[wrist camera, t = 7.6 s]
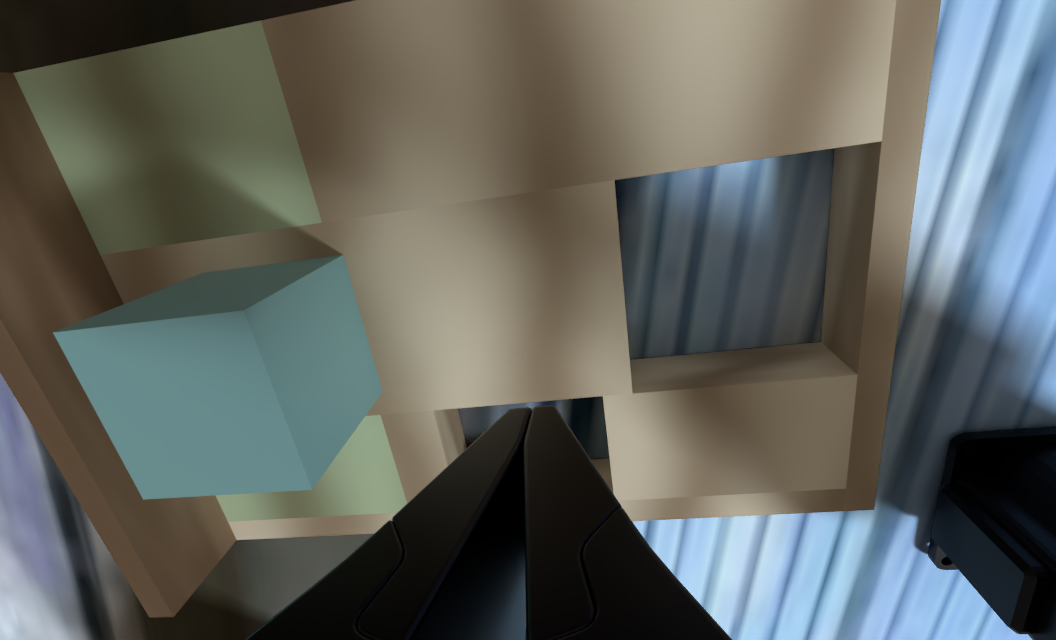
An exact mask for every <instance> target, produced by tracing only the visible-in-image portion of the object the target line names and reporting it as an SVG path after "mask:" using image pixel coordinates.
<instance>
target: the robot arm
mask: <svg viewBox="0 0 1056 640" xmlns="http://www.w3.org/2000/svg"><path fill="white" fill-rule="evenodd" d="M969 445H970V446H969ZM967 446H969V447H968V448H966V447H967ZM965 448H966V449H965ZM928 557H929V558H930V559H931V560H932V562H933V563H934V564H935V565H936V567H937V568H939V569H943V570H956V569H959V570H960V572H961V573H962V574H963V575H964V576H965V577H966V579H967V580H968V581H969V582H970V583H971V584H972V586H973V587H974V588H975V589H976V590H977V591H978V593H979V594H980V595H981V596H982V597H983V598H984V600H985V601H986V602H987V603H988V604H989V605H990V607H991V608H992V609H993V610H994V611H995V612H996V614H997V615H998V616H999V617H1000V618H1001V619H1002V621H1003V622H1004V623H1005V624H1006V625H1007V626H1008V627H1009V628H1010V629H1012V630H1013V631H1014V632H1016V633H1018V634H1028V635H1029V636H1030V637H1031V638H1032V639H1033V640H1056V427H1045V428H1030V429H1015V430H1000V431H985V432H970V433H962V434H959V435H957V436H955V437H954V438H953V439H952V440H951V441H950V443H949V446H948V452H947V457H946V462H945V467H944V473H943V478H942V483H941V488H940V491H939V496H938V501H937V506H936V512H935V517H934V522H933V528H932V533H931V541H930V546H929V552H928ZM525 628H526V640H732V639H731V638H730V637H729V636H728V635H727V634H726V632H725V631H724V630H723V629H722V628H721V627H720V626H719V625H718V624H717V622H716V621H715V620H714V619H713V618H712V617H711V616H710V615H709V614H708V612H707V611H706V610H705V609H704V608H703V607H702V606H701V605H700V604H699V602H698V601H697V600H696V599H695V598H694V597H693V596H692V595H691V594H690V592H689V591H688V590H687V589H686V588H685V587H684V586H683V585H682V584H681V583H680V581H679V580H678V579H677V578H676V577H675V576H674V575H673V574H672V572H671V571H670V570H669V569H668V568H667V566H666V565H665V564H664V563H663V562H662V561H661V559H660V558H659V557H658V556H657V555H656V553H655V552H654V551H653V550H652V549H651V547H650V546H649V545H648V543H647V542H646V541H645V539H644V538H643V536H642V535H641V534H640V532H639V531H638V529H637V528H636V527H635V525H634V524H633V522H632V521H631V519H630V518H629V516H628V515H627V513H626V512H625V510H624V509H623V508H622V507H621V505H620V503H619V502H618V500H617V499H616V497H615V496H614V494H613V493H612V491H611V490H610V488H609V486H608V485H607V483H606V482H605V480H604V479H603V477H602V476H601V474H600V473H599V471H598V470H597V468H596V467H595V465H594V464H593V462H592V461H591V459H590V458H589V456H588V455H587V453H586V452H585V450H584V449H583V447H582V446H581V444H580V443H579V441H578V440H577V438H576V437H575V435H574V433H573V432H572V430H571V429H570V427H569V426H568V424H567V423H566V421H565V420H564V418H563V417H562V415H561V414H560V412H559V411H558V409H557V408H556V407H555V406H553V405H550V406H538V407H534V408H533V409H531V408H528V407H526V408H514V409H510V410H508V411H507V412H506V413H505V414H504V415H503V416H501V417H500V418H499V419H498V420H497V421H496V422H495V423H494V424H493V425H492V426H491V427H490V428H488V429H487V430H486V431H485V432H484V433H483V434H482V435H481V436H480V437H479V438H478V439H477V440H475V441H474V442H473V443H472V444H471V445H470V446H469V447H468V448H467V449H466V450H465V451H464V452H462V453H461V454H460V455H459V456H458V457H457V458H456V459H455V460H454V461H453V462H452V463H451V464H450V465H448V466H447V467H446V468H445V469H444V470H443V471H442V472H441V473H440V474H439V475H438V476H437V477H435V478H434V479H433V480H432V481H431V482H430V483H429V484H428V485H427V486H426V487H425V488H424V489H422V490H421V491H420V492H419V493H418V494H417V495H416V496H415V497H414V498H413V499H412V500H411V501H409V502H408V503H407V504H406V505H405V506H404V507H403V508H402V509H401V510H400V511H399V512H397V513H396V514H395V515H394V516H393V517H392V521H391V520H389V521H388V522H386V523H385V524H384V525H383V526H382V527H381V528H380V529H379V530H378V531H377V532H376V533H375V534H373V535H372V536H371V537H370V538H369V539H368V540H367V541H366V542H364V543H363V544H362V545H361V546H360V547H359V548H358V549H356V550H355V551H354V552H353V553H352V554H351V555H350V556H349V557H347V558H346V559H345V560H344V561H343V562H341V563H340V564H339V565H338V566H337V567H335V568H334V569H333V570H332V571H330V572H329V573H328V574H327V575H326V576H324V577H323V578H322V579H321V580H319V581H318V582H317V583H316V584H315V585H313V586H312V587H311V588H310V589H308V590H307V591H306V592H304V593H303V594H302V595H301V596H299V597H298V598H297V599H296V600H294V601H293V602H292V603H290V604H289V605H288V606H287V607H285V608H284V609H283V610H282V611H280V612H279V613H278V614H276V615H275V616H274V617H273V618H271V619H270V620H269V621H268V622H266V623H265V624H264V625H262V626H261V627H260V628H259V629H257V630H256V631H255V632H254V633H252V634H251V635H250V636H249V637H247V638H246V639H245V640H524V635H525Z"/></svg>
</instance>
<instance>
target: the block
mask: <svg viewBox="0 0 1056 640" xmlns="http://www.w3.org/2000/svg"><path fill="white" fill-rule="evenodd" d="M53 334H54V336H55V337H56V339H57V341H58V343H59V345H60V347H61V349H62V350H63V352H64V354H65V356H66V358H67V360H68V361H69V363H70V365H71V367H72V369H73V371H74V373H75V374H76V376H77V378H78V380H79V382H80V384H81V385H82V387H83V389H84V391H85V393H86V395H87V397H88V398H89V400H90V402H91V404H92V406H93V408H94V410H95V411H96V413H97V415H98V417H99V419H100V421H101V422H102V424H103V426H104V428H105V430H106V432H107V434H108V435H109V437H110V439H111V441H112V443H113V445H114V446H115V448H116V450H117V452H118V454H119V456H120V458H121V459H122V461H123V463H124V465H125V467H126V469H127V470H128V472H129V474H130V476H131V478H132V480H133V482H134V483H135V485H136V487H137V489H138V491H139V493H140V494H141V496H142V498H143V500H144V499H162V498H179V497H196V496H213V495H231V494H248V493H265V492H283V491H300V490H312V489H313V488H314V487H315V485H316V484H317V482H318V481H319V480H320V478H321V477H322V475H323V474H324V473H325V471H326V470H327V469H328V467H329V466H330V464H331V463H332V462H333V460H334V459H335V457H336V456H337V455H338V453H339V452H340V451H341V449H342V448H343V446H344V445H345V444H346V442H347V441H348V439H349V438H350V437H351V435H352V434H353V432H354V431H355V430H356V428H357V427H358V426H359V424H360V423H361V421H362V420H363V419H364V417H365V416H366V414H367V413H368V412H369V410H370V409H371V408H372V406H373V405H374V403H375V402H376V401H377V399H378V398H379V396H380V395H381V394H382V392H383V390H382V387H381V383H380V380H379V376H378V373H377V370H376V366H375V363H374V359H373V356H372V352H371V349H370V345H369V342H368V339H367V335H366V332H365V328H364V325H363V321H362V318H361V314H360V311H359V307H358V304H357V301H356V297H355V294H354V290H353V287H352V283H351V280H350V276H349V273H348V270H347V266H346V263H345V259H344V256H343V255H337V256H329V257H322V258H314V259H306V260H298V261H291V262H283V263H275V264H267V265H260V266H252V267H244V268H236V269H229V270H221V271H213V272H205V273H201V274H198V275H196V276H193V277H191V278H188V279H186V280H183V281H181V282H178V283H176V284H173V285H171V286H168V287H166V288H163V289H161V290H158V291H156V292H153V293H151V294H148V295H146V296H143V297H141V298H138V299H136V300H133V301H131V302H128V303H126V304H123V305H121V306H118V307H116V308H113V309H111V310H108V311H106V312H103V313H101V314H98V315H96V316H93V317H91V318H88V319H86V320H83V321H81V322H78V323H76V324H73V325H71V326H68V327H65V328H63V329H60V330H58V331H55V332H53Z"/></svg>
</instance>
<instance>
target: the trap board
mask: <svg viewBox="0 0 1056 640" xmlns="http://www.w3.org/2000/svg"><path fill="white" fill-rule="evenodd" d="M940 4H941V0H355V1H350V2H346V3H341V4H336V5H331V6H327V7H322V8H317V9H313V10H308V11H303V12H298V13H294V14H289V15H284V16H280V17H275V18H270V19H266V20H261V21H256V22H251V23H247V24H242V25H237V26H233V27H228V28H223V29H219V30H214V31H209V32H204V33H200V34H195V35H190V36H186V37H181V38H176V39H171V40H167V41H162V42H157V43H153V44H148V45H143V46H139V47H134V48H129V49H124V50H120V51H115V52H110V53H106V54H101V55H96V56H92V57H87V58H82V59H77V60H73V61H68V62H63V63H59V64H54V65H49V66H44V67H40V68H35V69H30V70H26V71H21V72H16V73H6V72H0V373H1V374H2V376H3V377H4V379H5V381H6V382H7V384H8V386H9V387H10V389H11V391H12V392H13V394H14V396H15V397H16V399H17V401H18V402H19V404H20V405H21V407H22V409H23V410H24V412H25V414H26V415H27V417H28V419H29V420H30V422H31V424H32V425H33V427H34V428H35V430H36V432H37V433H38V435H39V437H40V438H41V440H42V442H43V443H44V445H45V447H46V448H47V450H48V452H49V453H50V455H51V456H52V458H53V460H54V461H55V463H56V465H57V466H58V468H59V470H60V471H61V473H62V475H63V476H64V478H65V479H66V481H67V483H68V484H69V486H70V488H71V489H72V491H73V493H74V494H75V496H76V498H77V499H78V501H79V503H80V504H81V506H82V507H83V509H84V511H85V512H86V514H87V516H88V517H89V519H90V521H91V522H92V524H93V526H94V527H95V529H96V530H97V532H98V534H99V535H100V537H101V539H102V540H103V542H104V544H105V545H106V547H107V549H108V550H109V552H110V554H111V555H112V557H113V558H114V560H115V562H116V563H117V565H118V567H119V568H120V570H121V572H122V573H123V575H124V577H125V578H126V580H127V581H128V583H129V585H130V586H131V588H132V590H133V591H134V593H135V595H136V596H137V598H138V600H139V601H140V603H141V605H142V606H143V608H144V609H145V611H146V613H147V614H148V616H149V618H150V617H174V616H175V615H176V614H177V612H178V611H179V610H180V609H181V608H182V606H183V605H184V604H185V603H186V601H187V600H188V599H189V598H190V596H191V595H192V594H193V593H194V592H195V590H196V589H197V588H198V587H199V585H200V584H201V583H202V582H203V581H204V579H205V578H206V577H207V576H208V574H209V573H210V572H211V571H212V570H213V568H214V567H215V566H216V565H217V563H218V562H219V561H220V560H221V559H222V557H223V556H224V555H225V554H226V552H227V551H228V550H229V549H230V547H231V546H232V545H233V544H234V543H235V541H236V540H246V539H267V538H288V537H309V536H330V535H351V534H372V533H376V532H377V531H378V530H379V529H380V528H381V527H382V526H383V525H384V524H385V523H386V522H388V521H389V520H391V521H392V517H393V516H394V515H395V514H396V513H397V512H399V511H400V510H401V509H402V508H403V507H404V506H405V505H406V504H407V503H408V502H409V501H411V500H412V499H413V498H414V497H415V496H416V495H417V494H418V493H419V492H420V491H421V490H422V489H424V488H425V487H426V486H427V485H428V484H429V483H430V482H431V481H432V480H433V479H434V478H435V477H437V476H438V475H439V474H440V473H441V472H442V471H443V470H444V469H445V468H446V467H447V466H448V465H450V464H451V463H452V462H453V461H454V460H455V459H456V458H457V457H458V456H459V455H460V454H461V453H462V452H464V451H465V450H466V449H467V446H466V442H465V438H464V434H463V429H462V425H461V421H460V417H459V413H458V408H468V407H480V406H491V405H503V404H515V403H527V402H539V401H551V400H563V399H575V398H587V397H599V396H603V403H604V412H605V421H606V430H607V439H608V448H609V457H610V458H608V459H592V460H591V461H592V462H593V464H594V465H595V467H596V468H597V470H598V471H599V473H600V474H601V476H602V477H603V479H604V480H605V482H606V483H607V485H608V486H609V488H610V490H611V491H612V493H613V494H614V496H615V497H616V499H617V500H618V502H619V503H620V505H621V507H622V508H623V509H624V510H625V512H626V513H627V515H628V516H629V518H630V519H631V521H645V520H666V519H687V518H708V517H729V516H750V515H771V514H792V513H813V512H834V511H855V510H874V506H875V498H876V491H877V483H878V476H879V468H880V460H881V453H882V445H883V438H884V430H885V422H886V415H887V407H888V400H889V392H890V384H891V377H892V369H893V362H894V354H895V346H896V339H897V331H898V324H899V316H900V308H901V301H902V293H903V286H904V278H905V270H906V263H907V255H908V248H909V240H910V232H911V225H912V217H913V210H914V202H915V194H916V187H917V179H918V171H919V164H920V156H921V149H922V141H923V133H924V126H925V118H926V111H927V103H928V95H929V88H930V80H931V73H932V65H933V57H934V50H935V42H936V35H937V27H938V19H939V12H940ZM832 148H835V149H834V163H833V177H832V192H831V206H830V220H829V234H828V248H827V262H826V276H825V291H824V305H823V319H822V333H821V342H816V343H805V344H794V345H783V346H773V347H762V348H751V349H741V350H730V351H719V352H709V353H698V354H687V355H677V356H666V357H655V358H645V359H634V360H630V356H629V345H628V333H627V321H626V309H625V298H624V286H623V274H622V262H621V251H620V239H619V227H618V215H617V204H616V192H615V180H619V179H626V178H633V177H640V176H646V175H653V174H660V173H667V172H674V171H681V170H688V169H695V168H701V167H708V166H715V165H722V164H729V163H736V162H743V161H750V160H756V159H763V158H770V157H777V156H784V155H791V154H798V153H805V152H811V151H818V150H825V149H832ZM337 255H343V256H344V259H345V263H346V266H347V270H348V273H349V276H350V280H351V283H352V287H353V290H354V294H355V297H356V301H357V304H358V307H359V311H360V314H361V318H362V321H363V325H364V328H365V332H366V335H367V339H368V342H369V345H370V349H371V352H372V356H373V359H374V363H375V366H376V370H377V373H378V376H379V380H380V383H381V387H382V390H383V392H382V394H381V395H380V396H379V398H378V399H377V401H376V402H375V403H374V405H373V406H372V408H371V409H370V410H369V412H368V413H367V414H366V416H365V417H364V419H363V420H362V421H361V423H360V424H359V426H358V427H357V428H356V430H355V431H354V432H353V434H352V435H351V437H350V438H349V439H348V441H347V442H346V444H345V445H344V446H343V448H342V449H341V451H340V452H339V453H338V455H337V456H336V457H335V459H334V460H333V462H332V463H331V464H330V466H329V467H328V469H327V470H326V471H325V473H324V474H323V475H322V477H321V478H320V480H319V481H318V482H317V484H316V485H315V487H314V488H313V489H312V490H300V491H283V492H265V493H248V494H231V495H213V496H196V497H179V498H162V499H144V500H143V498H142V496H141V494H140V493H139V491H138V489H137V487H136V485H135V483H134V482H133V480H132V478H131V476H130V474H129V472H128V470H127V469H126V467H125V465H124V463H123V461H122V459H121V458H120V456H119V454H118V452H117V450H116V448H115V446H114V445H113V443H112V441H111V439H110V437H109V435H108V434H107V432H106V430H105V428H104V426H103V424H102V422H101V421H100V419H99V417H98V415H97V413H96V411H95V410H94V408H93V406H92V404H91V402H90V400H89V398H88V397H87V395H86V393H85V391H84V389H83V387H82V385H81V384H80V382H79V380H78V378H77V376H76V374H75V373H74V371H73V369H72V367H71V365H70V363H69V361H68V360H67V358H66V356H65V354H64V352H63V350H62V349H61V347H60V345H59V343H58V341H57V339H56V337H55V336H54V334H53V332H55V331H58V330H60V329H63V328H65V327H68V326H71V325H73V324H76V323H78V322H81V321H83V320H86V319H88V318H91V317H93V316H96V315H98V314H101V313H103V312H106V311H108V310H111V309H113V308H116V307H118V306H121V305H123V304H126V303H128V302H131V301H133V300H136V299H138V298H141V297H143V296H146V295H148V294H151V293H153V292H156V291H158V290H161V289H163V288H166V287H168V286H171V285H173V284H176V283H178V282H181V281H183V280H186V279H188V278H191V277H193V276H196V275H198V274H201V273H205V272H213V271H221V270H229V269H236V268H244V267H252V266H260V265H267V264H275V263H283V262H291V261H298V260H306V259H314V258H322V257H329V256H337Z"/></svg>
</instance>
